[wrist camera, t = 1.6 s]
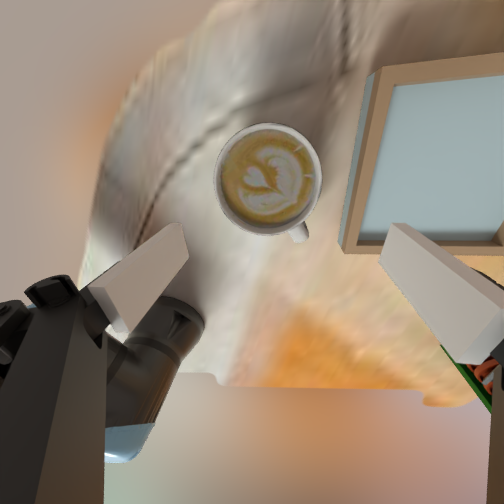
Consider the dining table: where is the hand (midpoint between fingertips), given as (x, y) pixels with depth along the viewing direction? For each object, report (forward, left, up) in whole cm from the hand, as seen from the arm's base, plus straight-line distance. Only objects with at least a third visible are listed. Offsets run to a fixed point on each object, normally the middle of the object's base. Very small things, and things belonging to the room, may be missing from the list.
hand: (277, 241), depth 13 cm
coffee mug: (-1, 0, -17) cm, 17 cm away
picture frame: (+17, +1, -17) cm, 24 cm away
